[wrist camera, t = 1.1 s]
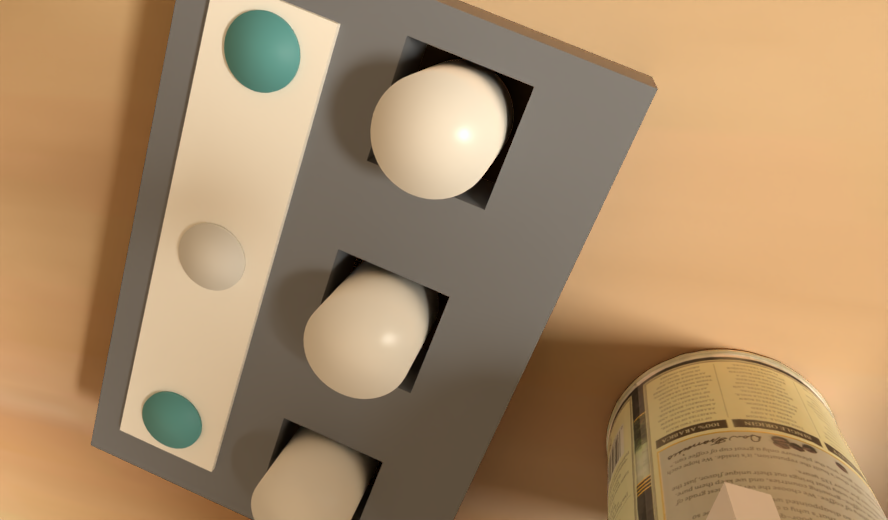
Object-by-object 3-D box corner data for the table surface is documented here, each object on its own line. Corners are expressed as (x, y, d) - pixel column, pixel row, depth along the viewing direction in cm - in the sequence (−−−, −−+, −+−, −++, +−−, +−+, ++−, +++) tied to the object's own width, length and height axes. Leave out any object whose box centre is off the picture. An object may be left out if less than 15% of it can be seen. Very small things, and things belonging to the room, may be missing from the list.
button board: (651, 76, 29) (658, 90, 25) (435, 539, 39) (415, 603, 35) (245, -85, 30) (186, -98, 26) (138, 404, 40) (84, 450, 36)
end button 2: (390, 434, 36) (357, 499, 31) (364, 499, 37) (329, 570, 33) (308, 397, 36) (264, 457, 31) (286, 464, 38) (241, 529, 33)
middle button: (452, 278, 32) (425, 325, 27) (420, 358, 34) (390, 415, 29) (361, 239, 32) (320, 279, 28) (334, 320, 34) (291, 371, 29)
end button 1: (530, 83, 28) (515, 100, 24) (490, 184, 30) (468, 218, 26) (427, 42, 29) (393, 51, 24) (393, 144, 31) (354, 170, 26)
